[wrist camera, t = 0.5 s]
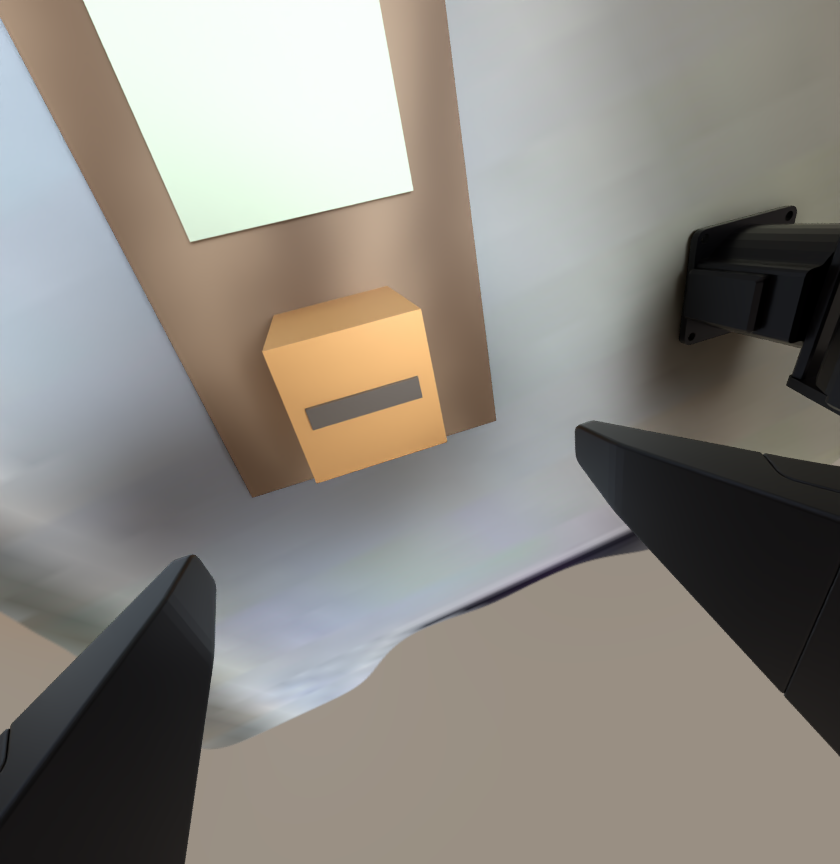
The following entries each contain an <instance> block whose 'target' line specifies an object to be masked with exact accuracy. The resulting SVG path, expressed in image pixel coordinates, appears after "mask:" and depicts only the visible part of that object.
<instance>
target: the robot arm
mask: <svg viewBox="0 0 840 864" xmlns="http://www.w3.org/2000/svg"><path fill="white" fill-rule="evenodd" d="M796 214H797V209H796V207H795V206H783V207H779V208H776V209H772V210H768V211H765V212H761V213H757V214H753V215H750V216H746V217H742V218H738V219H735V220H731V221H727V222H724V223H720V224H716V225H712V226H709V227H705V228H701V229H699V230H697V231H696V232H695V233H694V235H693V236H692V239H691V246H690V254H689V262H688V271H687V279H686V287H685V295H684V303H683V311H682V320H681V328H680V336H679V340H680V342H681V343H684V344H687V345H691V344H694V343H697V342H700V341H704V340H707V339H710V338H713V337H716V336H720V335H723V334H726V333H729V332H736V333H740V334H744V335H748V336H752V337H756V338H760V339H765V340H769V341H773V342H777V343H781V344H785V345H789V346H793V347H798V348H801V350H800V353H799V356H798V359H797V362H796V365H795V368H794V371H793V373H792V374H791V375H790V376H789V378H788V381H787V384H786V385H787V386H788V387H790V388H791V389H793V390H795V391H797V392H799V393H800V394H802V395H804V396H805V397H807V398H809V399H811V400H813V401H814V402H816V403H818V404H820V405H822V406H823V407H825V408H827V409H829V410H831V411H832V412H834V413H836V414H838V415H840V223H830V224H794V223H795V218H796ZM702 237H703V239H702ZM701 239H702V241H701ZM575 453H576V458H577V461H578V463H579V464H580V466H581V467H582V469H583V470H584V471H585V473H586V474H587V475H588V477H589V478H590V479H591V481H592V482H593V483H594V485H595V486H596V487H597V489H598V490H599V492H600V493H601V494H602V496H603V497H604V498H605V500H606V501H607V502H608V504H609V505H610V506H611V508H612V509H613V510H614V511H615V512H616V514H617V515H618V516H619V517H620V518H621V519H622V520H623V521H624V522H625V524H626V525H627V526H628V527H629V528H630V529H631V530H632V531H633V532H634V533H635V534H636V536H637V537H638V538H639V539H640V540H641V541H642V542H643V543H644V544H645V545H646V546H647V547H648V549H649V550H650V551H651V552H652V553H653V554H654V555H655V556H656V557H657V558H658V559H659V560H660V561H661V563H662V564H663V565H664V566H665V567H666V568H667V569H668V570H669V571H670V572H671V573H672V575H673V576H674V577H675V578H676V579H677V580H678V581H679V582H680V583H681V584H682V585H683V586H684V587H685V589H686V590H687V591H688V592H689V593H690V594H691V595H692V596H693V597H694V598H695V600H696V601H697V602H698V603H699V604H700V605H701V606H702V607H703V608H704V609H705V610H706V611H707V613H708V614H709V615H710V616H711V617H712V618H713V619H714V620H715V621H716V622H717V623H718V624H719V625H720V627H721V628H722V629H723V630H724V631H725V632H726V633H727V634H728V635H729V636H730V637H731V639H732V640H733V641H734V642H735V643H736V644H737V645H738V646H739V647H740V648H741V649H742V650H743V652H744V653H746V655H747V656H748V657H749V658H750V659H751V660H752V661H753V662H754V664H755V665H756V666H758V668H759V669H760V670H761V671H762V672H763V673H764V674H765V675H766V676H767V678H768V679H769V680H770V681H771V682H772V683H773V684H774V685H775V686H776V687H777V688H778V690H779V691H780V692H782V693H784V696H785V698H786V699H787V700H788V701H789V702H790V703H791V704H792V705H793V706H794V707H795V708H796V709H797V711H798V712H799V713H800V714H801V715H802V716H803V717H804V718H805V719H806V720H807V721H808V722H809V724H810V725H811V726H812V727H813V728H814V729H815V730H816V731H817V732H818V733H819V734H820V735H821V737H823V739H824V740H825V741H826V742H827V743H828V744H829V745H830V746H831V747H832V749H833V750H834V751H835V752H836V753H837V754H838V755H839V756H840V466H833V465H827V464H821V463H815V462H810V461H804V460H798V459H793V458H787V457H782V456H777V455H772V454H766V453H765V454H762V453H760V452H756V451H750V450H745V449H740V448H735V447H729V446H724V445H719V444H714V443H708V442H703V441H698V440H693V439H687V438H682V437H677V436H672V435H666V434H661V433H656V432H651V431H646V430H640V429H635V428H630V427H625V426H619V425H614V424H609V423H604V422H598V421H589V422H586V423H583V424H580V425H578V426H577V427H576V429H575ZM215 616H216V585H215V581H214V579H213V577H212V576H211V575H210V573H209V572H208V570H207V569H206V567H205V566H204V565H203V563H202V562H201V560H200V559H199V558H198V557H197V556H196V555H188V556H185V557H182V558H179V559H176V560H174V561H173V562H171V563H170V564H169V565H168V566H167V567H166V568H165V569H164V570H163V572H162V573H161V574H160V575H159V576H158V577H157V578H156V579H155V580H154V581H153V582H152V583H151V584H150V585H149V586H148V587H147V588H146V589H145V590H144V591H143V592H142V593H141V594H140V595H139V596H138V597H137V598H136V599H135V600H134V601H133V602H132V603H131V604H130V605H129V606H128V607H127V608H126V609H125V610H124V611H123V612H122V613H121V614H120V615H119V616H118V617H117V618H116V619H115V620H114V621H113V622H112V623H111V624H110V625H109V626H108V627H107V628H106V629H105V630H104V631H103V632H102V633H101V634H100V635H99V636H98V637H97V638H96V639H95V640H94V641H93V642H92V643H91V644H90V645H89V646H88V647H87V648H86V649H85V650H84V651H83V652H82V653H81V654H80V655H79V656H78V657H77V658H76V659H75V660H74V661H73V662H72V663H71V664H70V666H69V667H67V668H66V669H65V670H64V671H63V672H62V673H61V674H60V675H59V677H57V678H56V680H54V682H52V684H50V685H49V686H48V687H47V689H46V690H45V691H44V692H43V693H42V694H41V695H40V696H39V697H38V698H37V699H36V700H35V701H34V702H33V703H32V704H31V705H30V706H29V707H28V708H27V709H26V710H25V711H24V712H23V713H22V714H21V715H20V716H19V717H18V718H17V719H16V720H15V721H14V722H13V723H12V724H11V726H10V729H6V730H5V731H4V732H3V733H2V734H1V735H0V864H185V858H186V851H187V844H188V837H189V830H190V823H191V816H192V809H193V801H194V795H195V788H196V781H197V774H198V767H199V760H200V753H201V746H202V739H203V732H204V725H205V718H206V711H207V704H208V697H209V690H210V683H211V676H212V669H213V661H214V648H215Z"/></svg>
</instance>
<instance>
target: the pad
mask: <svg viewBox="0 0 840 864" xmlns="http://www.w3.org/2000/svg"><path fill="white" fill-rule="evenodd" d="M83 1H84V3H85V6H86V8H87V10H88V12H89V15H90V17H91V19H92V21H93V24H94V26H95V28H96V31H97V33H98V35H99V37H100V40H101V42H102V44H103V46H104V49H105V51H106V53H107V55H108V58H109V60H110V62H111V64H112V67H113V69H114V71H115V73H116V76H117V78H118V80H119V82H120V85H121V87H122V89H123V91H124V94H125V96H126V98H127V100H128V103H129V105H130V107H131V110H132V112H133V114H134V116H135V119H136V121H137V123H138V125H139V128H140V130H141V132H142V134H143V137H144V139H145V141H146V143H147V146H148V148H149V150H150V152H151V155H152V157H153V159H154V161H155V164H156V166H157V168H158V170H159V173H160V175H161V177H162V179H163V182H164V184H165V186H166V189H167V191H168V193H169V195H170V198H171V200H172V202H173V204H174V207H175V209H176V211H177V213H178V216H179V218H180V220H181V222H182V225H183V227H184V229H185V231H186V234H187V236H188V238H189V240H190V242H193V241H198V240H202V239H206V238H211V237H215V236H219V235H224V234H228V233H232V232H237V231H241V230H245V229H250V228H254V227H258V226H263V225H267V224H271V223H276V222H280V221H284V220H289V219H293V218H298V217H302V216H306V215H311V214H315V213H319V212H324V211H328V210H332V209H337V208H341V207H345V206H350V205H354V204H358V203H363V202H367V201H371V200H376V199H380V198H384V197H389V196H393V195H397V194H402V193H406V192H410V191H413V185H412V180H411V174H410V169H409V163H408V157H407V152H406V146H405V141H404V135H403V130H402V124H401V119H400V113H399V108H398V102H397V97H396V91H395V85H394V80H393V74H392V69H391V63H390V58H389V52H388V47H387V41H386V36H385V30H384V25H383V19H382V13H381V8H380V2H379V0H83Z"/></svg>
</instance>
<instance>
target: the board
mask: <svg viewBox="0 0 840 864" xmlns="http://www.w3.org/2000/svg"><path fill="white" fill-rule="evenodd" d="M379 2H380V8H381V13H382V19H383V25H384V30H385V36H386V41H387V47H388V52H389V58H390V63H391V69H392V74H393V80H394V85H395V91H396V97H397V102H398V108H399V113H400V119H401V124H402V130H403V135H404V141H405V146H406V152H407V157H408V163H409V169H410V174H411V180H412V185H413V191H410V192H406V193H402V194H397V195H393V196H389V197H384V198H380V199H376V200H371V201H367V202H363V203H358V204H354V205H350V206H345V207H341V208H337V209H332V210H328V211H324V212H319V213H315V214H311V215H306V216H302V217H298V218H293V219H289V220H284V221H280V222H276V223H271V224H267V225H263V226H258V227H254V228H250V229H245V230H241V231H237V232H232V233H228V234H224V235H219V236H215V237H211V238H206V239H202V240H198V241H193V242H190V240H189V238H188V236H187V234H186V231H185V229H184V227H183V225H182V222H181V220H180V218H179V216H178V213H177V211H176V209H175V207H174V204H173V202H172V200H171V198H170V195H169V193H168V191H167V189H166V186H165V184H164V182H163V179H162V177H161V175H160V173H159V170H158V168H157V166H156V164H155V161H154V159H153V157H152V155H151V152H150V150H149V148H148V146H147V143H146V141H145V139H144V137H143V134H142V132H141V130H140V128H139V125H138V123H137V121H136V119H135V116H134V114H133V112H132V110H131V107H130V105H129V103H128V100H127V98H126V96H125V94H124V91H123V89H122V87H121V85H120V82H119V80H118V78H117V76H116V73H115V71H114V69H113V67H112V64H111V62H110V60H109V58H108V55H107V53H106V51H105V49H104V46H103V44H102V42H101V40H100V37H99V35H98V33H97V31H96V28H95V26H94V24H93V21H92V19H91V17H90V15H89V12H88V10H87V8H86V6H85V3H84V1H83V0H0V17H1V19H2V21H3V23H4V25H5V27H6V29H7V31H8V33H9V35H10V37H11V38H12V40H13V42H14V44H15V46H16V48H17V50H18V52H19V54H20V56H21V58H22V59H23V61H24V63H25V65H26V67H27V69H28V71H29V73H30V75H31V77H32V78H33V80H34V82H35V84H36V86H37V88H38V90H39V92H40V94H41V96H42V98H43V99H44V101H45V103H46V105H47V107H48V109H49V111H50V113H51V115H52V117H53V119H54V120H55V122H56V124H57V126H58V128H59V130H60V132H61V134H62V136H63V138H64V140H65V141H66V143H67V145H68V147H69V149H70V151H71V153H72V155H73V157H74V159H75V161H76V162H77V164H78V166H79V168H80V170H81V172H82V174H83V176H84V178H85V180H86V181H87V183H88V185H89V187H90V189H91V191H92V193H93V195H94V197H95V199H96V201H97V202H98V204H99V206H100V208H101V210H102V212H103V214H104V216H105V218H106V220H107V222H108V223H109V225H110V227H111V229H112V231H113V233H114V235H115V237H116V239H117V241H118V243H119V244H120V246H121V248H122V250H123V252H124V254H125V256H126V258H127V260H128V262H129V264H130V265H131V267H132V269H133V271H134V273H135V275H136V277H137V279H138V281H139V283H140V284H141V286H142V288H143V290H144V292H145V294H146V296H147V298H148V300H149V302H150V304H151V305H152V307H153V309H154V311H155V313H156V315H157V317H158V319H159V321H160V323H161V325H162V326H163V328H164V330H165V332H166V334H167V336H168V338H169V340H170V342H171V344H172V346H173V347H174V349H175V351H176V353H177V355H178V357H179V359H180V361H181V363H182V365H183V366H184V368H185V370H186V372H187V374H188V376H189V378H190V380H191V382H192V384H193V386H194V387H195V389H196V391H197V393H198V395H199V397H200V399H201V401H202V403H203V405H204V407H205V408H206V410H207V412H208V414H209V416H210V418H211V420H212V422H213V424H214V426H215V428H216V429H217V431H218V433H219V435H220V437H221V439H222V441H223V443H224V445H225V447H226V449H227V450H228V452H229V454H230V456H231V458H232V460H233V462H234V464H235V466H236V468H237V469H238V471H239V473H240V475H241V477H242V479H243V481H244V483H245V485H246V487H247V489H248V490H249V492H250V494H251V496H252V498H253V497H256V496H260V495H263V494H266V493H269V492H272V491H275V490H279V489H282V488H285V487H288V486H291V485H294V484H298V483H301V482H304V481H307V480H310V479H313V478H314V476H313V474H312V471H311V469H310V466H309V464H308V462H307V459H306V457H305V454H304V452H303V449H302V447H301V445H300V442H299V440H298V437H297V435H296V433H295V430H294V428H293V425H292V423H291V420H290V418H289V416H288V413H287V411H286V408H285V406H284V403H283V401H282V399H281V396H280V394H279V391H278V389H277V387H276V384H275V382H274V379H273V377H272V374H271V372H270V370H269V367H268V365H267V362H266V360H265V357H264V355H263V353H262V351H263V347H264V344H265V341H266V338H267V335H268V332H269V329H270V325H271V322H272V319H273V316H274V315H277V314H281V313H284V312H288V311H292V310H296V309H300V308H304V307H307V306H311V305H315V304H319V303H323V302H327V301H331V300H334V299H338V298H342V297H346V296H350V295H354V294H357V293H361V292H365V291H369V290H373V289H377V288H381V287H384V286H388V287H390V288H391V289H393V290H394V291H396V292H397V293H399V294H400V295H402V296H403V297H404V298H406V299H407V300H409V301H410V302H412V303H413V304H415V305H416V306H418V307H419V308H421V311H422V317H423V322H424V327H425V332H426V337H427V342H428V347H429V352H430V357H431V362H432V367H433V372H434V377H435V382H436V387H437V392H438V398H439V403H440V408H441V413H442V418H443V423H444V428H445V433H446V436H449V435H452V434H455V433H459V432H462V431H465V430H468V429H471V428H474V427H478V426H481V425H484V424H487V423H490V422H493V421H496V414H495V406H494V398H493V390H492V382H491V373H490V365H489V357H488V349H487V341H486V332H485V324H484V316H483V308H482V300H481V292H480V283H479V275H478V267H477V259H476V251H475V242H474V234H473V226H472V218H471V210H470V202H469V193H468V185H467V177H466V169H465V161H464V153H463V144H462V136H461V128H460V120H459V112H458V103H457V95H456V87H455V79H454V71H453V63H452V54H451V46H450V38H449V30H448V22H447V14H446V5H445V0H379Z"/></svg>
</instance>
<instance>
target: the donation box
mask: <svg viewBox="0 0 840 864" xmlns="http://www.w3.org/2000/svg"><path fill="white" fill-rule="evenodd" d="M262 353H263V355H264V357H265V360H266V362H267V365H268V367H269V370H270V372H271V374H272V377H273V379H274V382H275V384H276V387H277V389H278V391H279V394H280V396H281V399H282V401H283V403H284V406H285V408H286V411H287V413H288V416H289V418H290V420H291V423H292V425H293V428H294V430H295V433H296V435H297V437H298V440H299V442H300V445H301V447H302V449H303V452H304V454H305V457H306V459H307V462H308V464H309V466H310V469H311V471H312V474H313V476H314V479H315V481H316V483H320V482H323V481H326V480H330V479H333V478H336V477H339V476H342V475H345V474H348V473H352V472H355V471H358V470H361V469H364V468H367V467H370V466H373V465H377V464H380V463H383V462H386V461H389V460H392V459H395V458H399V457H402V456H405V455H408V454H411V453H414V452H417V451H421V450H424V449H427V448H430V447H433V446H436V445H439V444H443V443H446V442H447V438H446V433H445V428H444V423H443V418H442V413H441V408H440V403H439V398H438V392H437V387H436V382H435V377H434V372H433V367H432V362H431V357H430V352H429V347H428V342H427V337H426V332H425V327H424V322H423V317H422V311H421V308H419V307H418V306H416V305H415V304H413V303H412V302H410V301H409V300H407V299H406V298H404V297H403V296H402V295H400V294H399V293H397V292H396V291H394V290H393V289H391V288H390V287H388V286H384V287H381V288H377V289H373V290H369V291H365V292H361V293H357V294H354V295H350V296H346V297H342V298H338V299H334V300H331V301H327V302H323V303H319V304H315V305H311V306H307V307H304V308H300V309H296V310H292V311H288V312H284V313H281V314H277V315H274V316H273V319H272V322H271V325H270V329H269V332H268V335H267V338H266V341H265V344H264V347H263V351H262Z"/></svg>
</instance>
